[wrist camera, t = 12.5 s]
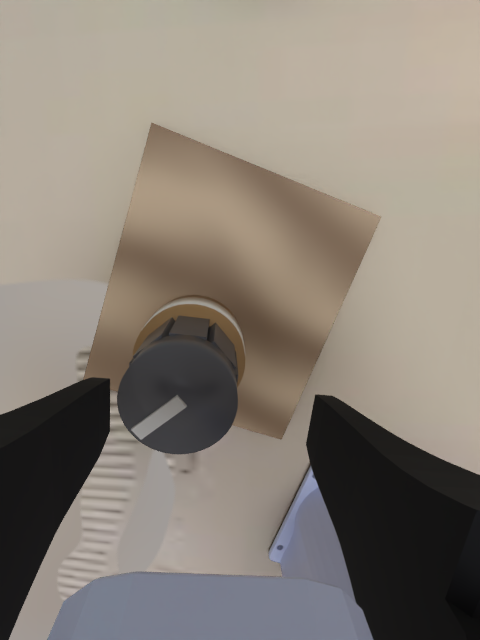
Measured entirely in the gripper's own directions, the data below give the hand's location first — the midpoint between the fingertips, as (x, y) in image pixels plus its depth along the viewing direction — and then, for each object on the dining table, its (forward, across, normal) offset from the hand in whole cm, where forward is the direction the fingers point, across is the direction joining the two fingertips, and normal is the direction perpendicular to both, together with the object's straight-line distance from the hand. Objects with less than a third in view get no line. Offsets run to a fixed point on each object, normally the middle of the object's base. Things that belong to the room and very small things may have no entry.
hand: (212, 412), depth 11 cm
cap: (+6, +1, +1) cm, 6 cm away
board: (+10, 0, -2) cm, 10 cm away
